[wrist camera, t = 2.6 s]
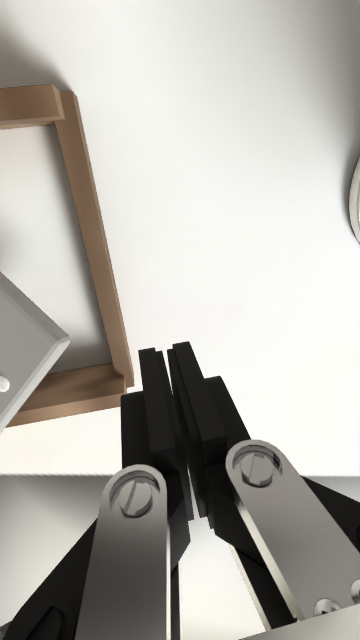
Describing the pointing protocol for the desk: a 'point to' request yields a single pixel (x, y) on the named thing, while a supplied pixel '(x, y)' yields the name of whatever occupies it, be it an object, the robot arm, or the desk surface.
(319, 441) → the desk surface
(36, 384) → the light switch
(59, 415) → the walnut open frame
